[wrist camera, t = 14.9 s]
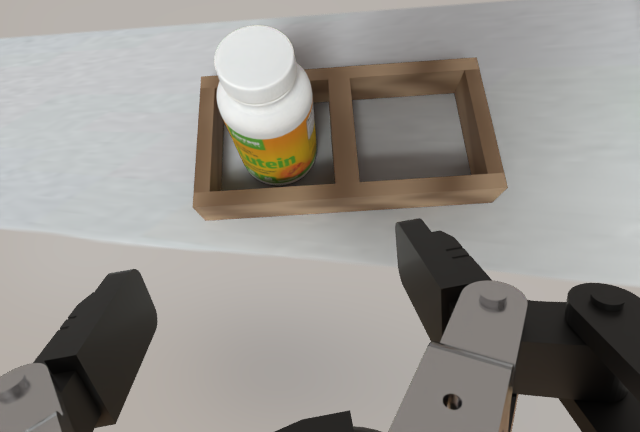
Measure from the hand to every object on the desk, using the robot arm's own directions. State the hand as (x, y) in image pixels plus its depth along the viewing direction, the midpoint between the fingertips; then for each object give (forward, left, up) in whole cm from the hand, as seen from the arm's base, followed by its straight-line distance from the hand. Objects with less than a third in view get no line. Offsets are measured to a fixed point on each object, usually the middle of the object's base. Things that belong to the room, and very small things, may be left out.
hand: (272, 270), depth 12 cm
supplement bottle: (-9, -7, -13) cm, 17 cm away
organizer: (-12, -3, -13) cm, 17 cm away
